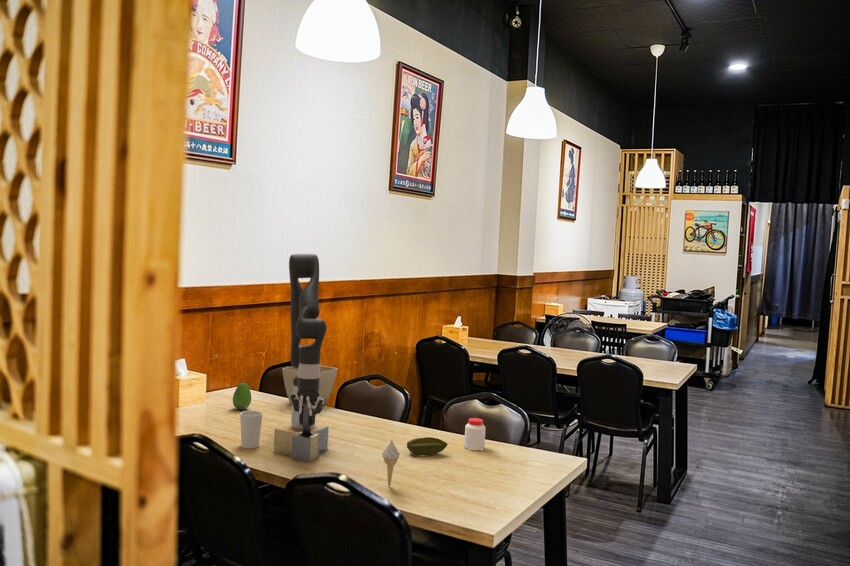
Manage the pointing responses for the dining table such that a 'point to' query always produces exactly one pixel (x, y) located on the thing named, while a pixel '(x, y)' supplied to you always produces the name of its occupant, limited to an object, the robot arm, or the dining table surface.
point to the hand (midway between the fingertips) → (306, 424)
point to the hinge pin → (306, 421)
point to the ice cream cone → (390, 459)
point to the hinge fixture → (301, 444)
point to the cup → (250, 428)
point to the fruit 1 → (242, 396)
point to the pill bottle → (475, 434)
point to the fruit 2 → (426, 446)
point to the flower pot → (324, 387)
